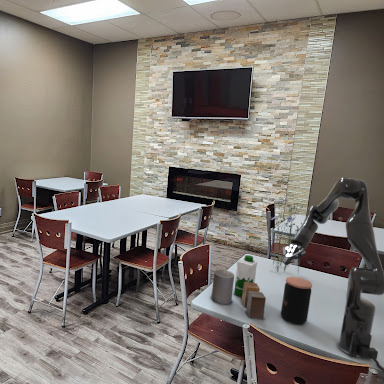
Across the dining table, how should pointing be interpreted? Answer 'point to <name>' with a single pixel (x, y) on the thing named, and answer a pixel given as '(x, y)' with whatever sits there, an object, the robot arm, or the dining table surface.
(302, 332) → the dining table surface
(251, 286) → the oak block
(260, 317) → the walnut block
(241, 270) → the milk carton
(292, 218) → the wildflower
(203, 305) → the dining table surface
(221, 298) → the pillar candle
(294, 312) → the coffee jar
